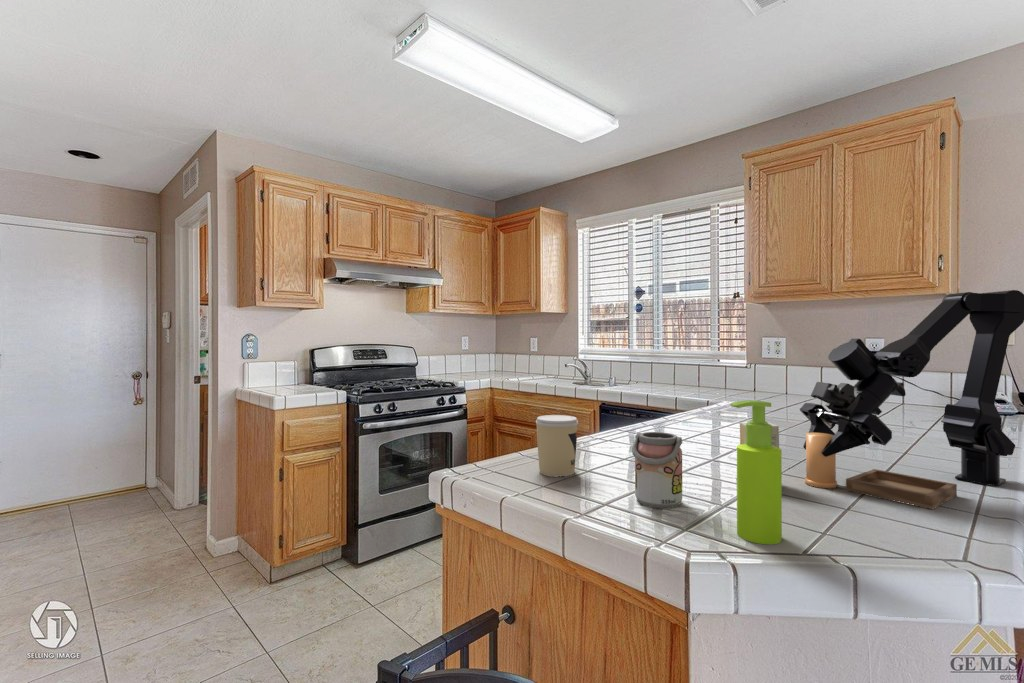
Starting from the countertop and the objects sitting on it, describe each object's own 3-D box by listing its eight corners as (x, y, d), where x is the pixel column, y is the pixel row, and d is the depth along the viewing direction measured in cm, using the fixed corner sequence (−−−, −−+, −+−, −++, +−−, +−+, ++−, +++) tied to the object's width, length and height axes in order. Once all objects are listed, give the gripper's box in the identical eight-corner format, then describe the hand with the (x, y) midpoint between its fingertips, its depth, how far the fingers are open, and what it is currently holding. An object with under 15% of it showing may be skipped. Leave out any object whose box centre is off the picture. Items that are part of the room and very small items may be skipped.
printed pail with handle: (674, 515, 80) (674, 442, 80) (625, 506, 85) (625, 437, 85) (688, 499, 88) (687, 433, 88) (642, 492, 93) (642, 429, 93)
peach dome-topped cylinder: (812, 479, 101) (812, 431, 101) (841, 485, 96) (841, 435, 96) (799, 483, 98) (799, 434, 98) (829, 490, 93) (829, 438, 93)
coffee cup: (580, 478, 102) (580, 421, 102) (536, 478, 102) (536, 421, 102) (575, 466, 112) (575, 414, 112) (535, 466, 112) (534, 414, 112)
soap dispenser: (722, 529, 74) (722, 398, 74) (765, 528, 75) (765, 398, 75) (744, 545, 68) (744, 403, 68) (790, 543, 69) (790, 403, 69)
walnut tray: (874, 479, 101) (874, 469, 101) (956, 496, 90) (956, 484, 90) (846, 490, 93) (846, 478, 93) (932, 509, 83) (932, 496, 83)
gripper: (808, 366, 107) (759, 416, 106) (876, 371, 88) (819, 432, 87) (842, 401, 107) (794, 452, 107) (917, 413, 89) (860, 475, 88)
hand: (814, 451), depth 97 cm, fingers closed on peach dome-topped cylinder, 5 cm apart
